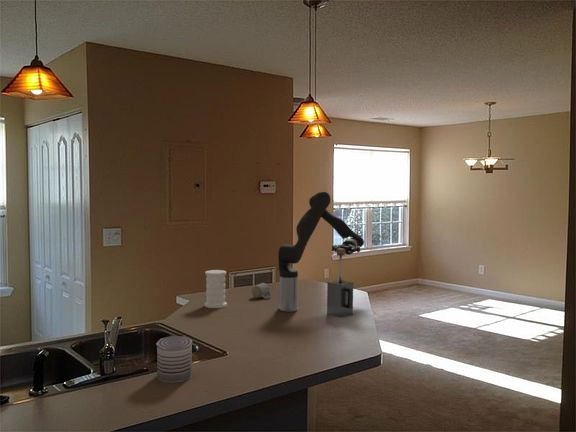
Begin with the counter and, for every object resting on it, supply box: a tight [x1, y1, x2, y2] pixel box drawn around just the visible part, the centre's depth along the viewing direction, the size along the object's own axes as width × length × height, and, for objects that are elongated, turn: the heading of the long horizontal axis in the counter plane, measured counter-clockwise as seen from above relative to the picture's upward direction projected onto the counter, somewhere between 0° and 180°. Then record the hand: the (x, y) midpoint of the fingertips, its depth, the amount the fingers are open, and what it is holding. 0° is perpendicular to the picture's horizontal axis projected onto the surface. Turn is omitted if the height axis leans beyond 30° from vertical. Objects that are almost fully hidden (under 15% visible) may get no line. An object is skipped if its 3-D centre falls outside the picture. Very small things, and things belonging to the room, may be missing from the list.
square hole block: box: [326, 279, 354, 318], centre depth 251 cm, size 12×9×16 cm
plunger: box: [336, 248, 346, 283], centre depth 251 cm, size 7×7×20 cm
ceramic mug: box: [251, 282, 272, 300], centre depth 288 cm, size 11×8×8 cm
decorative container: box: [204, 269, 228, 309], centre depth 268 cm, size 12×12×18 cm
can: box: [155, 335, 194, 384], centre depth 168 cm, size 11×11×12 cm
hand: (343, 250), depth 258 cm, fingers open, 8 cm apart
